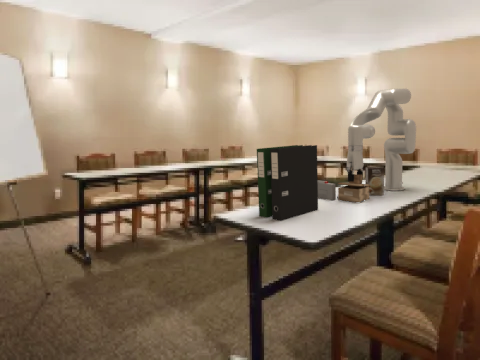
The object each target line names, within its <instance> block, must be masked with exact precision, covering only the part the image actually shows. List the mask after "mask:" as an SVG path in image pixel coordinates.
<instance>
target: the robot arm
mask: <svg viewBox="0 0 480 360" xmlns="http://www.w3.org/2000/svg"><path fill="white" fill-rule="evenodd" d="M411 99H412V93H411V90H409V89H408V88H390V89H380V90H378V91H376V92H375V93H374V95H373V97H372V99H371V101H370V102H369V104H368V106H367V107H366V109H364V110H363V111H362V112H360V113H359V114H357V115H356V116H355V117H354V118H353V120H352V121H351V123H350V125H349V126H348V128H347V143H348V144H347V149H348V150H347V158H346V167H345V168H346V173H347V182H349V181H350V182H354V174H355V173H354V172H355V171H356V175H363V176H362V180H363V178H364V173H363V172H364V166H365V162H364V158H363V157H364V155H363V151H364V150H363V149H364V142H363V141H364V139H371V138H374V136H375V134H376V128H375V126H374V125H372V124H367V123H370V122H372V121H375V120H377V119H379V118H380V117H381V116H382V114H383V112H384V110H385V108H386V111H387V112H386V113H387V127H386V128H387V134H388V135H390V136H404V137H389V138H387V139H386V140H385V141H384V143H383V148H384V156H385V167H384V191H394V192H396V191H398V192H399V191H404V190H405V189H406V188H405V186H403V184H404V181H403V159H402V156H401V155H402V154H403V155H407V154H409V155H410V154H413V153H414V152H415V149H416V141H417V140H416V139H417V126H416V122H415V120H414V119H410V118H404V110H403V108H402V107H401V105H405V104H408V103H409V102H410V101H411ZM400 154H401V155H400Z"/></svg>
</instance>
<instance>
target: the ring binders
mask: <svg viewBox="0 0 480 360" xmlns="http://www.w3.org/2000/svg"><path fill="white" fill-rule="evenodd" d="M256 166H257V167H256V169H257V189H258V190H257V193H258V195H257V196H258V215H259V217H262V218H265V219H267V218H270V217H272V219H271V220H275V221H278V222H282V221H285V220H289V219H292V218H296V217H299V216H302V215H306V214H309V213H313V212H316V211H319V198H318V176H319V174H318V145H313V144H310V145H303V144H301V145H300V144H299V145H298V144H295V145H285V146H284V145H283V146H274V147H273V146H272V147H263V148H262V147H260V148H256Z"/></svg>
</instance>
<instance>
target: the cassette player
mask: <svg viewBox="0 0 480 360" xmlns="http://www.w3.org/2000/svg"><path fill="white" fill-rule="evenodd" d="M336 186H337V185H336V183H331V182H329V181H327V180H318V199H323V200H327V201H328V200H329V201H335V200H337V198H336V196H337V195H336V193H337V190H336V189H337V188H336Z"/></svg>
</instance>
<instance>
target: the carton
mask: <svg viewBox="0 0 480 360" xmlns="http://www.w3.org/2000/svg"><path fill="white" fill-rule="evenodd" d="M337 192H338V193H337V195H338V196H337V200H338V201H340V202H347V201H349V202H348V203H356V202H360V203H362V202H361V201H363V202H365V201H367V200H370V196H369V186H354V185H343V186H340V187H338V188H337ZM364 200H365V201H364Z"/></svg>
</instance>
